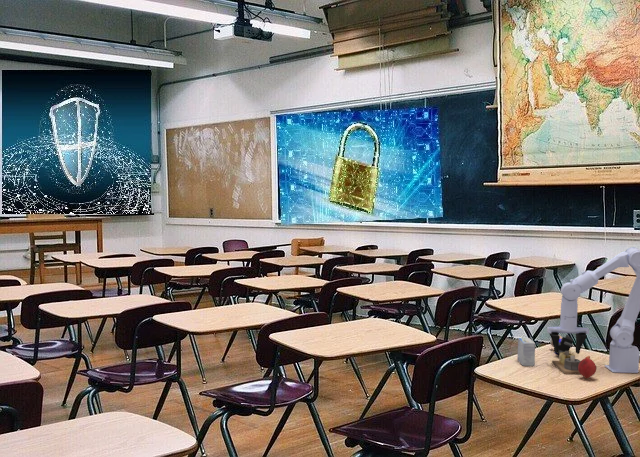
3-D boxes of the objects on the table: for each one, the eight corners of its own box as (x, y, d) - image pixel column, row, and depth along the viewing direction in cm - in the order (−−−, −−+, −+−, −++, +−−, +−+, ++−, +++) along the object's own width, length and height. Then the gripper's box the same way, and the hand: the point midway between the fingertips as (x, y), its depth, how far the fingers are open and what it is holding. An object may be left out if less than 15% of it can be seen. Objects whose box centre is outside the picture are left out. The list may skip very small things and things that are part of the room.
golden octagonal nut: (572, 362, 272) (573, 352, 271) (575, 365, 266) (576, 356, 266) (558, 361, 272) (558, 351, 272) (560, 365, 267) (561, 355, 267)
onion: (586, 381, 251) (588, 358, 250) (573, 377, 256) (575, 354, 255) (599, 379, 253) (600, 357, 253) (586, 375, 258) (587, 352, 258)
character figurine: (555, 359, 280) (549, 349, 294) (575, 359, 278) (568, 349, 293) (555, 339, 279) (548, 330, 294) (575, 338, 278) (567, 330, 293)
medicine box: (534, 366, 268) (535, 343, 267) (522, 366, 268) (523, 342, 267) (528, 360, 276) (530, 337, 275) (516, 360, 276) (518, 337, 275)
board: (579, 363, 273) (580, 349, 273) (592, 374, 259) (593, 359, 259) (552, 363, 273) (552, 348, 273) (564, 374, 259) (565, 358, 259)
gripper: (585, 314, 272) (583, 350, 273) (545, 313, 272) (543, 349, 273) (591, 318, 265) (589, 355, 266) (551, 317, 265) (549, 354, 266)
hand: (566, 352), depth 269 cm, fingers open, 7 cm apart
